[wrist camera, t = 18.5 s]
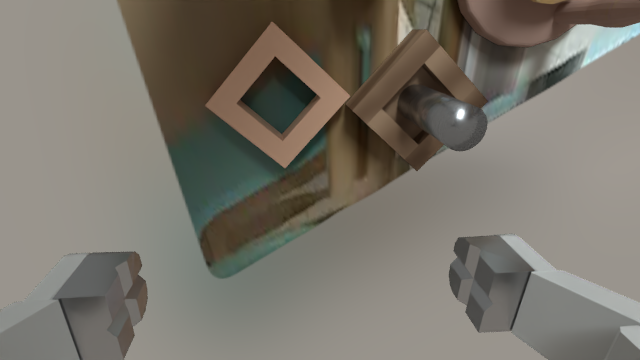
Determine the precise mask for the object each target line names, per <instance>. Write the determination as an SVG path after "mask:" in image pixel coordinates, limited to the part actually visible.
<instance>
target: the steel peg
mask: <svg viewBox="0 0 640 360" xmlns="http://www.w3.org/2000/svg"><path fill="white" fill-rule="evenodd" d="M398 109H399V112H400V113H401V114H402V115H403V116H404V117H405V118H407V119H408V120H410V121H411V122H413V123H414V124H415V125H417V126H418V127H420V128H421V129H423V130H424V131H426V132H427V133H428V134H430V135H431V136H433V137H434V138H436V139H437V140H438V141H440V142H441V143H443V144H444V145H446V146H447V147H449V148H450V149H452V150H455V151H465V150H468V149H471V148H473V147H474V146H476V145H477V144H478V143H479V142H480V141H481V139H482V138H483V136H484V135H485V132H486V129H487V119H486V116H485V114H484V112H483V111H482V110H481V109H480V108H478V107H476V106H474V105H471V104H469V103H466V102H464V101H461V100H459V99H456V98H453V97H451V96H448V95H446V94H443V93H441V92H438V91H436V90H433V89H431V88H428V87H425V86H423V85H420V84H413V85H410V86H408V87H406V88H405V89H404V90H403V91H402V92H401V94H400V96H399V98H398Z"/></svg>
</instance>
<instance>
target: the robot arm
mask: <svg viewBox="0 0 640 360" xmlns="http://www.w3.org/2000/svg"><path fill="white" fill-rule="evenodd" d="M454 252H455V254H456V256H457V258H456V259H455V260H454V261H453V262H452V263H451V265H450V271H449V281H450V286H451V289H452V292H453V294H454V295H455V297H456V298H457V300H459V301H460V302H462V303H464V304H465V305H467V307H466V314H467V315H468V317H469V319H470V320H471V322H472V323H473V324H474V326H475V328H476V329H477V331H478V332H501V331H512V332H511V333H513V334H514V335H515V336H516V337H518V338H519V339H521V340H522V341H523V342H525V343H526V344H527V345H529V346H530V347H531V348H533V349H534V350H536V351H537V352H538V353H540V354H541V355H542V356H544V357H545V358H547V359H548V360H640V303H639V302H637V301H635V300H632V299H630V298H628V297H625V296H623V295H620V294H618V293H616V292H613V291H611V290H609V289H606V288H604V287H601V286H599V285H597V284H594V283H592V282H590V281H587V280H585V279H582V278H580V277H578V276H575V275H573V274H571V273H568V272H566V271H563V270H556V269H555V268H554V267H552V266H551V265H550V264H549V263H548V262H547V261H546V260H545V259H544V258H542V257H541V256H540V255H539V254H538V253H537V252H535V250H533V249H532V248H531V247H530V246H529V245H528V244H527V243H526V242H524V241H523V240H522V239H521V238H520V237H519V236H517V235H515V234H502V235H494V236H478V237H461V238H458V240H457V241H456V243H455V246H454ZM141 267H142V264H141V260H140V256H139V254H137V253H136V252H104V253H76V254H68V255H65V256H64V257H63V258H62V259H61V260H60V261H59V262H58V263H57V264H56V265H55V267H54V268H53V269H52V270H51V271H50V272H49V273H48V274H47V275H46V276H45V278H44V279H43V280H42V281H41V282H40V283H39V284H38V285H37V286H36V288H35V289H34V290H33V291H32V292H31V293H30V294H29V295H28V297H27V298H26V299H25V300H24V301H22V302H14V303H12V304H10V305H8V306H6V307H4V308H3V309H1V310H0V360H124V358H125V356H126V353H127V351H128V349H129V347H130V344H131V342H132V340H133V338H134V331H133V326H135V325H136V324H137V323H138V322H140V321H141V320H142V318H143V315H144V312H145V310H146V304H147V299H148V297H147V286H146V281H145V280H144V279H143V278H142V277H140V276H139V275H138V273H139V271H140V269H141Z"/></svg>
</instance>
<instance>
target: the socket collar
mask: <svg viewBox="0 0 640 360" xmlns="http://www.w3.org/2000/svg"><path fill="white" fill-rule="evenodd" d="M275 56H276V57H277V58H278V59H279V60H280V61H281V62H282V63H283V64H284V65H285V66H286V67H288V68H289V69H290V70H291V71H292V72H293V73H294V74H295V75H296V76H297V77H299V78H300V79H301V80H302V81H303V82H304V83H305V84H306V85H307V86H308V87H309V88H311V89H312V90H313V91H314V92H315V93H316V94H317V95H316V96H315V97H314V98H313V99H312V100H311V102H310V103H309V104H308V105H307V106H306V107H305V108H304V110H303V111H302V112H301V113H300V114H299V115H298V116H297V118H296V119H295V120H294V121H293V122H292V123H291V124H290V125H289V127H288V128H287V129H286V130H285V131H284V132H283V133H282V134H281V133H280V132H279V131H277V130H276V129H275V128H274V127H272V126H271V125H270V124H269V123H268V122H266V121H265V120H264V119H263V118H262V117H260V116H259V115H258V114H257V113H255V112H254V111H253V110H252V109H251V108H249V107H248V106H247V105H246V104H245V103H243V102H242V101H241V100H240V98H241V97H242V96H243V95H244V94H245V92H246V91H247V90H248V89H249V88H250V86H251V85H252V84H253V83H254V81H255V80H256V79H257V78H258V77H259V75H260V74H261V73H262V72H263V70H264V69H265V68H266V67H267V66H268V64H269V63H270V62H271V61H272V60H273V58H274V57H275ZM349 97H350V95H349V94H348V93H347V92H346V91H345V90H344V89H343V88H341V87H340V86H339V85H338V84H337V83H336V82H335V81H334V80H333V79H332V78H331V77H330V76H329V75H328V74H327V73H326V72H325V71H324V70H323V69H322V68H321V67H319V66H318V65H317V64H316V63H315V62H314V61H313V60H312V59H311V58H310V57H309V56H308V55H307V54H306V53H305V52H304V51H303V50H302V49H301V48H300V47H298V46H297V45H296V44H295V43H294V42H293V41H292V40H291V39H290V38H289V37H288V36H287V35H286V34H285V33H284V32H283V31H282V30H281V29H280V28H279V27H278V26H276V25H275V24H274V23H273V22H271V24H270V25H269V26H268V27H267V29H266V30H265V31H264V32H263V34H262V35H261V36H260V37H259V39H258V40H257V41H256V42H255V44H254V45H253V46H252V47H251V49H250V50H249V51H248V52H247V54H246V55H245V56H244V57H243V59H242V60H241V61H240V62H239V64H238V65H237V66H236V67H235V69H234V70H233V71H232V72H231V74H230V75H229V76H228V77H227V79H226V80H225V81H224V82H223V84H222V85H221V86H220V87H219V89H218V90H217V91H216V92H215V94H214V95H213V96H212V97H211V99H210V100H209V101H208V102H207V104H206V105H205V106H206V107H207V108H208V109H210V110H211V111H212V112H214V113H215V114H216V115H217V116H219V117H220V118H221V119H222V120H224V121H225V122H226V123H228V124H229V125H230V126H231V127H233V128H234V129H235V130H237V131H238V132H239V133H240V134H242V135H243V136H244V137H246V138H247V139H248V140H249V141H251V142H252V143H253V144H254V145H256V146H257V147H258V148H260V149H261V150H262V151H263V152H265V153H266V154H267V155H269V156H270V157H271V158H272V159H274V160H275V161H276V162H278V163H279V164H280V165H281V166H283V167H284V168H286V167H287V166H288V165H289V163H290V162H291V161H292V160H293V159H294V158H295V157H296V156H297V155H298V153H299V152H300V151H301V150H302V149H303V148H304V147H305V146H306V145H307V143H308V142H309V141H310V140H311V139H312V138H313V137H314V136H315V135H316V134H317V132H318V131H319V130H320V129H321V128H322V127H323V126H324V125H325V124H326V122H327V121H328V120H329V119H330V118H331V117H332V116H333V115H334V114H335V113H336V111H337V110H338V109H339V108H340V107H341V106H342V105H343V104H344V103H345V101H346V100H347V99H348V98H349Z"/></svg>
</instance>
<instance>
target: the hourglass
mask: <svg viewBox="0 0 640 360" xmlns="http://www.w3.org/2000/svg"><path fill="white" fill-rule="evenodd" d="M457 1H458V4H459V8H460V12H461V13H462V15H463V16H464V18H465V19H466V20H467V22H468V23H469V24H470V26H471V27H472V28H473V30H474V31H475V32H476V33H477V34H479V35H480V36H482V37H484V38H486V39H488V40H489V41H491V42H493V43H495V44H497V45H504V46H517V47H532V46H535V45H538V44H541V43H544V42H548V41H551V40H554V39H556V38H558V37H559V36H560V35H562V34H563V33H565V32H566V31H568V30H569V29H570V28H572V27H573V26H575V25H576V24H593V25H598V26H603V27H625V26H629V25H632V24H636V23H639V22H640V0H457Z"/></svg>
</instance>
